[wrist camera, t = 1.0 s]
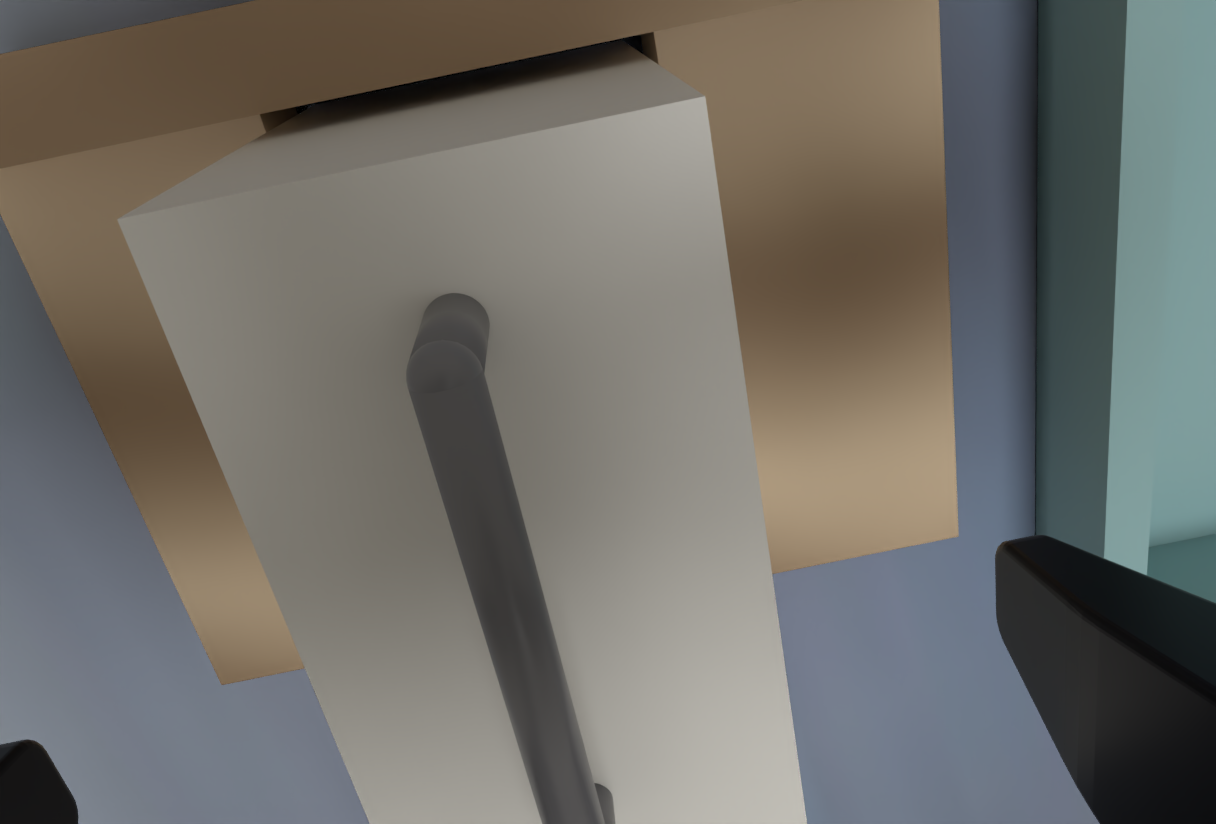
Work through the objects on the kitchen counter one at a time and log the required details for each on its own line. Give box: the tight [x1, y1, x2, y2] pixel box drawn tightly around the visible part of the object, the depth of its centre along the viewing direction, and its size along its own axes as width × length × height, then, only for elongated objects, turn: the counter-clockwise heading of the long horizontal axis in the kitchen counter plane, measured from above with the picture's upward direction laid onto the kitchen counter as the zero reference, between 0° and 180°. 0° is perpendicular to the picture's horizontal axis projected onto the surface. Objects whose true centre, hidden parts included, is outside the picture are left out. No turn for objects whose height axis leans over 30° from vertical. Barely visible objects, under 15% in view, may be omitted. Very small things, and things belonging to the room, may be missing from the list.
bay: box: [0, 0, 958, 685], centre depth 15 cm, size 11×14×4 cm
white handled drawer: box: [117, 40, 807, 824], centre depth 13 cm, size 9×5×10 cm, turn 10°
